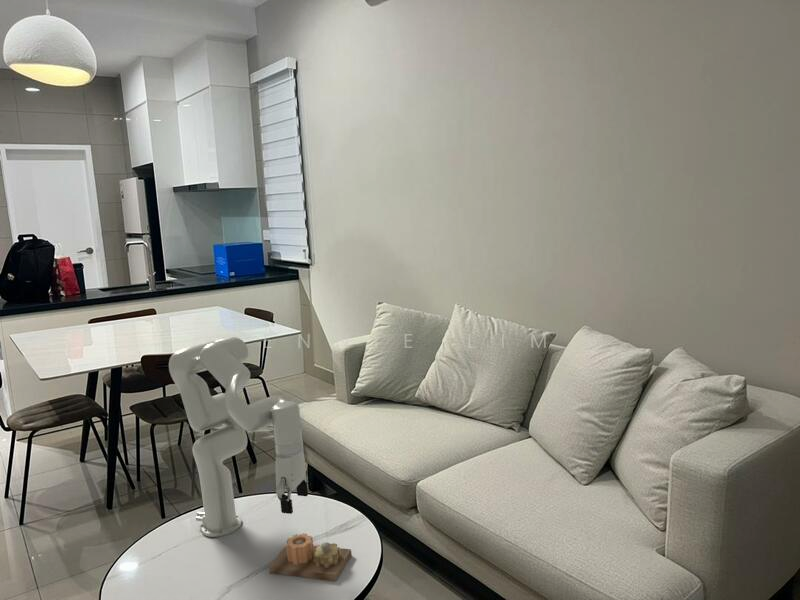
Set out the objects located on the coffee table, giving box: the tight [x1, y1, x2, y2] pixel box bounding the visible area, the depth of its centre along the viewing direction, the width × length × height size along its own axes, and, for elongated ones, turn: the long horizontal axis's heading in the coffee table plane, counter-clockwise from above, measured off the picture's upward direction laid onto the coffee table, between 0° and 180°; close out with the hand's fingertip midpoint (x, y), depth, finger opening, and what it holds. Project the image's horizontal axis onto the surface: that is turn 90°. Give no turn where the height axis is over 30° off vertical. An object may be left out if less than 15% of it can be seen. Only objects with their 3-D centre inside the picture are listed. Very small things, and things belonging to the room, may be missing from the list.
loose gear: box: [285, 532, 314, 565], centre depth 173 cm, size 7×7×5 cm
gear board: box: [268, 540, 353, 582], centre depth 172 cm, size 20×12×6 cm, turn 74°
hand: (295, 504), depth 171 cm, fingers open, 9 cm apart
